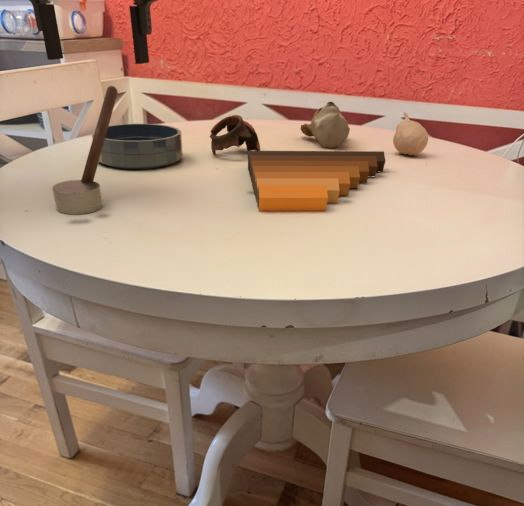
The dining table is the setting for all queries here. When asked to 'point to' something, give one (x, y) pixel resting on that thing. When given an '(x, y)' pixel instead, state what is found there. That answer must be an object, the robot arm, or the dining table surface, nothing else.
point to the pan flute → (308, 176)
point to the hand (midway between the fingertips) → (98, 61)
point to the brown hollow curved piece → (234, 134)
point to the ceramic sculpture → (328, 126)
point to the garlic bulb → (410, 137)
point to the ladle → (87, 169)
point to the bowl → (141, 146)
